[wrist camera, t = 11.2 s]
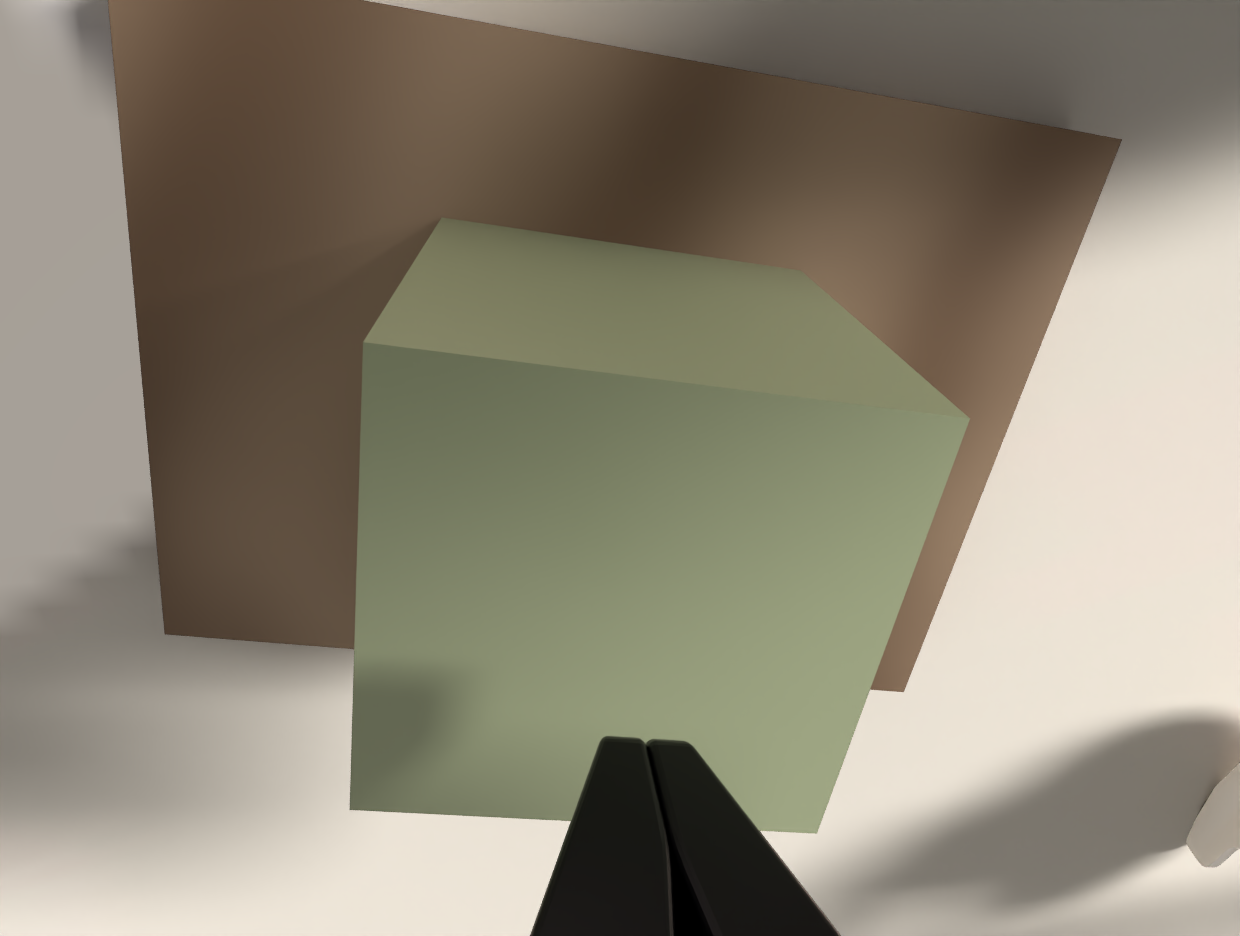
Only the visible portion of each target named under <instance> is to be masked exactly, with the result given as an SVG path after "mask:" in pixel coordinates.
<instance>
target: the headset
mask: <svg viewBox="0 0 1240 936" xmlns="http://www.w3.org/2000/svg"><path fill="white" fill-rule="evenodd" d="M1186 842H1187V845H1188V847H1189V849H1190V850H1191V852H1192V853H1193V855H1194V856H1195V858H1196V859H1197V860H1198V862H1199V863H1200V864H1201V865H1202V866H1204V867H1217V866H1219V865H1221V864H1222V863H1223V862H1224V861H1225V860H1226V859H1228V858H1229V857H1230V856H1231V855H1232V854H1233V853H1234V852H1235V851H1236V850H1238V849H1240V763H1239V764H1238V765H1237V766H1236V767H1235V768H1234V769H1233V770H1232V771H1231V772H1230V773H1229V774H1228V775H1227V776H1226V777H1225V778H1224V779H1223V780H1221V781H1220V782H1219V783H1218V784H1217V785H1216V787H1215V788H1214V789H1213V791H1212V793H1211V794H1210V796H1209V798H1208V799H1207V801H1206V803H1205V804H1204V806H1203V808H1202V809H1201V811H1200V813H1199V814H1198V816H1197V818H1196V819H1195V821H1194V823H1193V826H1192V828H1191V830H1190V832H1189V834H1188V837H1187V839H1186Z"/></svg>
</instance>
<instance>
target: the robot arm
mask: <svg viewBox="0 0 1240 936" xmlns="http://www.w3.org/2000/svg"><path fill="white" fill-rule="evenodd" d="M530 936H841V935H840V933H839V932H838V931H837V930H836V928H835V927H834V926H833V924H832V923H831V922H830V921H829V919H828V918H827V917H826V916H825V914H824V913H823V912H822V910H821V909H820V908H819V907H818V905H817V904H816V903H815V901H814V900H813V899H812V898H811V896H810V895H809V894H808V892H807V891H806V890H805V889H804V887H803V886H802V885H801V883H800V882H799V881H798V880H797V878H796V877H795V876H794V874H793V873H792V872H791V871H790V869H789V868H788V867H787V865H786V864H785V863H784V862H783V860H782V859H781V858H780V856H779V855H778V854H777V853H776V851H775V850H774V849H773V848H772V846H771V845H770V844H769V842H768V841H767V840H766V839H765V837H764V836H763V835H762V833H761V832H760V831H759V830H758V828H757V827H756V826H755V824H754V823H753V822H752V821H751V819H750V818H749V817H748V815H747V814H746V813H745V812H744V810H743V809H742V808H741V806H740V805H739V804H738V803H737V801H736V800H735V799H734V797H733V796H732V795H731V794H730V792H729V791H728V790H727V788H726V787H725V786H724V785H723V783H722V782H721V781H720V780H719V778H718V777H717V776H716V774H715V773H714V772H713V771H712V769H711V768H710V767H709V765H708V764H707V763H706V762H705V760H704V759H703V758H702V756H701V755H700V754H699V753H698V751H697V750H696V749H695V748H694V746H693V745H691V744H690V743H689V742H686V741H681V740H666V739H651V740H649V741H647V742H646V744H645V742H644V741H643V740H642V739H640V738H635V737H620V736H605V737H603V738H602V739H601V740H600V742H599V745H598V747H597V750H596V753H595V756H594V758H593V761H592V764H591V767H590V770H589V772H588V775H587V778H586V781H585V784H584V786H583V789H582V792H581V795H580V798H579V800H578V803H577V806H576V809H575V812H574V814H573V817H572V820H571V823H570V825H569V828H568V831H567V834H566V837H565V839H564V842H563V845H562V848H561V851H560V853H559V856H558V859H557V862H556V865H555V867H554V870H553V873H552V876H551V878H550V881H549V884H548V887H547V890H546V892H545V895H544V898H543V901H542V904H541V906H540V909H539V912H538V915H537V918H536V920H535V923H534V926H533V929H532V931H531V934H530Z"/></svg>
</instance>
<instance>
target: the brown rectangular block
mask: <svg viewBox="0 0 1240 936" xmlns="http://www.w3.org/2000/svg"><path fill="white" fill-rule="evenodd" d="M108 7H109V18H110V29H111V40H112V51H113V62H114V73H115V85H116V96H117V107H118V118H119V129H120V140H121V152H122V163H123V174H124V184H125V196H126V206H127V218H128V230H129V240H130V252H131V263H132V274H133V285H134V296H135V308H136V318H137V329H138V341H139V352H140V363H141V374H142V385H143V397H144V408H145V419H146V430H147V441H148V452H149V464H150V475H151V486H152V497H153V508H154V520H155V531H156V542H157V553H158V564H159V575H160V586H161V598H162V609H163V620H164V631H165V634H169V635H181V636H194V637H207V638H220V639H232V640H245V641H258V642H271V643H284V644H296V645H309V646H322V647H335V648H347V649H354V643H355V608H356V573H357V538H358V503H359V468H360V432H361V397H362V362H363V341H364V340H365V338H366V337H367V335H368V333H369V332H370V330H371V329H372V327H373V326H374V324H375V322H376V321H377V319H378V318H379V316H380V314H381V313H382V311H383V310H384V308H385V307H386V305H387V303H388V302H389V300H390V299H391V297H392V295H393V294H394V292H395V291H396V289H397V288H398V286H399V284H400V283H401V281H402V280H403V278H404V276H405V275H406V273H407V272H408V270H409V269H410V267H411V265H412V264H413V262H414V261H415V259H416V257H417V256H418V254H419V253H420V251H421V249H422V248H423V246H424V245H425V243H426V242H427V240H428V238H429V237H430V235H431V234H432V232H433V230H434V229H435V227H436V226H437V224H438V223H439V221H440V219H441V218H442V217H443V218H449V219H456V220H463V221H470V222H476V223H483V224H490V225H497V226H503V227H510V228H517V229H524V230H530V231H537V232H544V233H551V234H557V235H564V236H571V237H578V238H584V239H591V240H598V241H605V242H611V243H618V244H625V245H632V246H638V247H645V248H652V249H659V250H666V251H672V252H679V253H686V254H693V255H699V256H706V257H713V258H720V259H726V260H733V261H740V262H747V263H753V264H760V265H767V266H774V267H780V268H787V269H794V270H801V271H802V272H803V273H804V274H805V275H807V276H808V277H809V278H810V279H811V280H812V281H813V282H815V283H816V284H817V285H818V286H819V287H820V288H821V289H823V290H824V291H825V292H826V293H827V294H828V295H829V296H831V297H832V298H833V299H834V300H835V301H836V302H837V303H839V304H840V305H841V306H842V307H843V308H844V309H845V310H847V311H848V312H849V313H850V314H851V315H852V316H853V317H855V318H856V319H857V320H858V321H859V322H860V323H861V324H863V325H864V326H865V327H866V328H867V329H868V330H869V331H871V332H872V333H873V334H874V335H875V336H876V337H877V338H879V339H880V340H881V341H882V342H883V343H884V344H885V345H887V346H888V347H889V348H890V349H891V350H892V351H893V352H895V353H896V354H897V355H898V356H899V357H900V358H901V359H903V360H904V361H905V362H906V363H907V364H908V365H909V366H911V367H912V368H913V369H914V370H915V371H916V372H917V373H919V374H920V375H921V376H922V377H923V378H924V379H925V380H927V381H928V382H929V383H930V384H931V385H932V386H933V387H935V388H936V389H937V390H938V391H939V392H940V393H941V394H943V395H944V396H945V397H946V398H947V399H948V400H949V401H951V402H952V403H953V404H954V405H955V406H956V407H957V408H959V409H960V410H961V411H962V412H963V413H964V414H965V415H967V416H968V417H969V418H970V420H969V423H968V426H967V428H966V431H965V434H964V436H963V439H962V442H961V445H960V447H959V450H958V453H957V455H956V458H955V461H954V463H953V466H952V469H951V472H950V474H949V477H948V480H947V482H946V485H945V488H944V491H943V493H942V496H941V499H940V501H939V504H938V507H937V509H936V512H935V515H934V518H933V520H932V523H931V526H930V528H929V531H928V534H927V537H926V539H925V542H924V545H923V547H922V550H921V553H920V555H919V558H918V561H917V564H916V566H915V569H914V572H913V574H912V577H911V580H910V583H909V585H908V588H907V591H906V593H905V596H904V599H903V601H902V604H901V607H900V610H899V612H898V615H897V618H896V620H895V623H894V626H893V629H892V631H891V634H890V637H889V639H888V642H887V645H886V647H885V650H884V653H883V656H882V658H881V661H880V664H879V666H878V669H877V672H876V675H875V677H874V680H873V683H872V685H871V688H870V689H871V690H884V691H897V692H904V690H905V687H906V685H907V682H908V680H909V677H910V675H911V672H912V670H913V667H914V664H915V662H916V659H917V657H918V654H919V652H920V649H921V647H922V644H923V642H924V639H925V637H926V634H927V632H928V629H929V626H930V624H931V621H932V619H933V616H934V614H935V611H936V609H937V606H938V604H939V601H940V599H941V596H942V594H943V591H944V589H945V586H946V583H947V581H948V578H949V576H950V573H951V571H952V568H953V566H954V563H955V561H956V558H957V556H958V553H959V551H960V548H961V545H962V543H963V540H964V538H965V535H966V533H967V530H968V528H969V525H970V523H971V520H972V518H973V515H974V513H975V510H976V508H977V505H978V502H979V500H980V497H981V495H982V492H983V490H984V487H985V485H986V482H987V480H988V477H989V475H990V472H991V470H992V467H993V465H994V462H995V459H996V457H997V454H998V452H999V449H1000V447H1001V444H1002V442H1003V439H1004V437H1005V434H1006V432H1007V429H1008V427H1009V424H1010V421H1011V419H1012V416H1013V414H1014V411H1015V409H1016V406H1017V404H1018V401H1019V399H1020V396H1021V394H1022V391H1023V389H1024V386H1025V384H1026V381H1027V378H1028V376H1029V373H1030V371H1031V368H1032V366H1033V363H1034V361H1035V358H1036V356H1037V353H1038V351H1039V348H1040V346H1041V343H1042V340H1043V338H1044V335H1045V333H1046V330H1047V328H1048V325H1049V323H1050V320H1051V318H1052V315H1053V313H1054V310H1055V308H1056V305H1057V303H1058V300H1059V297H1060V295H1061V292H1062V290H1063V287H1064V285H1065V282H1066V280H1067V277H1068V275H1069V272H1070V270H1071V267H1072V265H1073V262H1074V259H1075V257H1076V254H1077V252H1078V249H1079V247H1080V244H1081V242H1082V239H1083V237H1084V234H1085V232H1086V229H1087V227H1088V224H1089V222H1090V219H1091V216H1092V214H1093V211H1094V209H1095V206H1096V204H1097V201H1098V199H1099V196H1100V194H1101V191H1102V189H1103V186H1104V184H1105V181H1106V178H1107V176H1108V173H1109V171H1110V168H1111V166H1112V163H1113V161H1114V158H1115V156H1116V153H1117V151H1118V148H1119V146H1120V143H1121V141H1122V139H1116V138H1111V137H1106V136H1100V135H1095V134H1089V133H1084V132H1078V131H1073V130H1067V129H1062V128H1056V127H1051V126H1046V125H1040V124H1035V123H1029V122H1024V121H1018V120H1013V119H1007V118H1002V117H997V116H991V115H986V114H980V113H975V112H969V111H964V110H958V109H953V108H947V107H942V106H937V105H931V104H926V103H920V102H915V101H909V100H904V99H898V98H893V97H887V96H882V95H877V94H871V93H866V92H860V91H855V90H849V89H844V88H838V87H833V86H827V85H822V84H817V83H811V82H806V81H800V80H795V79H789V78H784V77H778V76H773V75H768V74H762V73H757V72H751V71H746V70H740V69H735V68H729V67H724V66H718V65H713V64H708V63H702V62H697V61H691V60H686V59H680V58H675V57H669V56H664V55H658V54H653V53H648V52H642V51H637V50H631V49H626V48H620V47H615V46H609V45H604V44H598V43H593V42H588V41H582V40H577V39H571V38H566V37H560V36H555V35H549V34H544V33H538V32H533V31H528V30H522V29H517V28H511V27H506V26H500V25H495V24H489V23H484V22H479V21H473V20H468V19H462V18H457V17H451V16H446V15H440V14H435V13H429V12H424V11H419V10H413V9H408V8H402V7H397V6H391V5H386V4H380V3H375V2H369V1H364V0H108Z"/></svg>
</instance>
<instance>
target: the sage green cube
mask: <svg viewBox="0 0 1240 936" xmlns="http://www.w3.org/2000/svg"><path fill="white" fill-rule="evenodd" d="M969 420H970V418H969V417H968V416H967V415H965V414H964V413H963V412H962V411H961V410H960V409H959V408H957V407H956V406H955V405H954V404H953V403H952V402H951V401H949V400H948V399H947V398H946V397H945V396H944V395H943V394H941V393H940V392H939V391H938V390H937V389H936V388H935V387H933V386H932V385H931V384H930V383H929V382H928V381H927V380H925V379H924V378H923V377H922V376H921V375H920V374H919V373H917V372H916V371H915V370H914V369H913V368H912V367H911V366H909V365H908V364H907V363H906V362H905V361H904V360H903V359H901V358H900V357H899V356H898V355H897V354H896V353H895V352H893V351H892V350H891V349H890V348H889V347H888V346H887V345H885V344H884V343H883V342H882V341H881V340H880V339H879V338H877V337H876V336H875V335H874V334H873V333H872V332H871V331H869V330H868V329H867V328H866V327H865V326H864V325H863V324H861V323H860V322H859V321H858V320H857V319H856V318H855V317H853V316H852V315H851V314H850V313H849V312H848V311H847V310H845V309H844V308H843V307H842V306H841V305H840V304H839V303H837V302H836V301H835V300H834V299H833V298H832V297H831V296H829V295H828V294H827V293H826V292H825V291H824V290H823V289H821V288H820V287H819V286H818V285H817V284H816V283H815V282H813V281H812V280H811V279H810V278H809V277H808V276H807V275H805V274H804V273H803V272H802V271H801V270H794V269H787V268H780V267H774V266H767V265H760V264H753V263H747V262H740V261H733V260H726V259H720V258H713V257H706V256H699V255H693V254H686V253H679V252H672V251H666V250H659V249H652V248H645V247H638V246H632V245H625V244H618V243H611V242H605V241H598V240H591V239H584V238H578V237H571V236H564V235H557V234H551V233H544V232H537V231H530V230H524V229H517V228H510V227H503V226H497V225H490V224H483V223H476V222H470V221H463V220H456V219H449V218H443V217H442V218H441V219H440V221H439V223H438V224H437V226H436V227H435V229H434V230H433V232H432V234H431V235H430V237H429V238H428V240H427V242H426V243H425V245H424V246H423V248H422V249H421V251H420V253H419V254H418V256H417V257H416V259H415V261H414V262H413V264H412V265H411V267H410V269H409V270H408V272H407V273H406V275H405V276H404V278H403V280H402V281H401V283H400V284H399V286H398V288H397V289H396V291H395V292H394V294H393V295H392V297H391V299H390V300H389V302H388V303H387V305H386V307H385V308H384V310H383V311H382V313H381V314H380V316H379V318H378V319H377V321H376V322H375V324H374V326H373V327H372V329H371V330H370V332H369V333H368V335H367V337H366V338H365V340H364V341H363V362H362V397H361V432H360V468H359V503H358V538H357V573H356V608H355V643H354V678H353V714H352V749H351V784H350V810H364V811H383V812H403V813H423V814H443V815H462V816H482V817H502V818H521V819H541V820H561V821H571V820H572V817H573V814H574V812H575V809H576V806H577V803H578V800H579V798H580V795H581V792H582V789H583V786H584V784H585V781H586V778H587V775H588V772H589V770H590V767H591V764H592V761H593V758H594V756H595V753H596V750H597V747H598V745H599V742H600V740H601V739H602V738H603V737H605V736H620V737H635V738H640V739H642V740H643V741H644V742H645V744H646V742H647V741H649V740H651V739H666V740H681V741H686V742H689V743H690V744H691V745H693V746H694V748H695V749H696V750H697V751H698V753H699V754H700V755H701V756H702V758H703V759H704V760H705V762H706V763H707V764H708V765H709V767H710V768H711V769H712V771H713V772H714V773H715V774H716V776H717V777H718V778H719V780H720V781H721V782H722V783H723V785H724V786H725V787H726V788H727V790H728V791H729V792H730V794H731V795H732V796H733V797H734V799H735V800H736V801H737V803H738V804H739V805H740V806H741V808H742V809H743V810H744V812H745V813H746V814H747V815H748V817H749V818H750V819H751V821H752V822H753V823H754V824H755V826H756V827H757V828H758V830H759V831H778V832H797V833H817V831H818V829H819V826H820V823H821V821H822V818H823V815H824V813H825V810H826V807H827V804H828V802H829V799H830V796H831V794H832V791H833V788H834V785H835V783H836V780H837V777H838V775H839V772H840V769H841V767H842V764H843V761H844V758H845V756H846V753H847V750H848V748H849V745H850V742H851V739H852V737H853V734H854V731H855V729H856V726H857V723H858V721H859V718H860V715H861V712H862V710H863V707H864V704H865V702H866V699H867V696H868V693H869V691H870V688H871V685H872V683H873V680H874V677H875V675H876V672H877V669H878V666H879V664H880V661H881V658H882V656H883V653H884V650H885V647H886V645H887V642H888V639H889V637H890V634H891V631H892V629H893V626H894V623H895V620H896V618H897V615H898V612H899V610H900V607H901V604H902V601H903V599H904V596H905V593H906V591H907V588H908V585H909V583H910V580H911V577H912V574H913V572H914V569H915V566H916V564H917V561H918V558H919V555H920V553H921V550H922V547H923V545H924V542H925V539H926V537H927V534H928V531H929V528H930V526H931V523H932V520H933V518H934V515H935V512H936V509H937V507H938V504H939V501H940V499H941V496H942V493H943V491H944V488H945V485H946V482H947V480H948V477H949V474H950V472H951V469H952V466H953V463H954V461H955V458H956V455H957V453H958V450H959V447H960V445H961V442H962V439H963V436H964V434H965V431H966V428H967V426H968V423H969Z"/></svg>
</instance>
